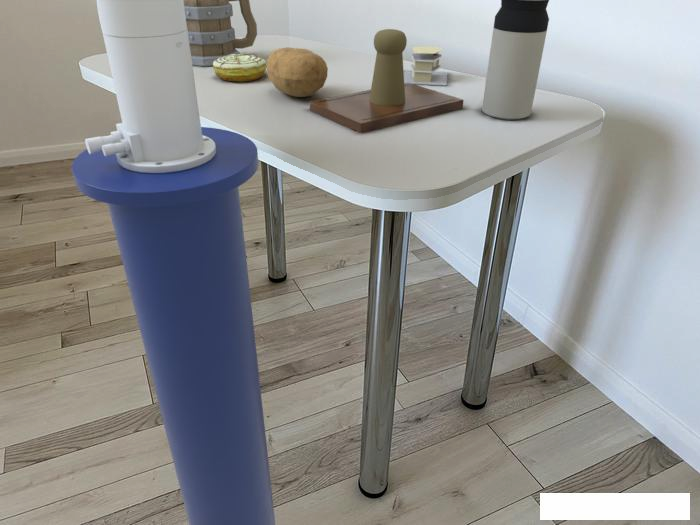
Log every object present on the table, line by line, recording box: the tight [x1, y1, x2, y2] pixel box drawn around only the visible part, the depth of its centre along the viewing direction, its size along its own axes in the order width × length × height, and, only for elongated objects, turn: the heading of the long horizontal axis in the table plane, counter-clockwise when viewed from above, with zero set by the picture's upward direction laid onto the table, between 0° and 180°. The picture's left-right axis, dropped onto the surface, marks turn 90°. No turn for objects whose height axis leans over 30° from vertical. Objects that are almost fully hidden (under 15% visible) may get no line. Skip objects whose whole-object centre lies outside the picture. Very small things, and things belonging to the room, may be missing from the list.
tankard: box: [183, 0, 258, 67], centre depth 119 cm, size 20×13×15 cm, turn 114°
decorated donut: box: [212, 53, 267, 83], centre depth 108 cm, size 10×11×4 cm
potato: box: [266, 47, 329, 98], centre depth 96 cm, size 10×14×8 cm
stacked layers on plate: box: [404, 46, 448, 86], centre depth 108 cm, size 10×9×6 cm
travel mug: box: [481, 0, 550, 121], centre depth 86 cm, size 8×8×18 cm
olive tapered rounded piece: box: [369, 28, 408, 106], centre depth 88 cm, size 6×6×11 cm
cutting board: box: [309, 82, 465, 134], centre depth 91 cm, size 22×14×2 cm, turn 127°
